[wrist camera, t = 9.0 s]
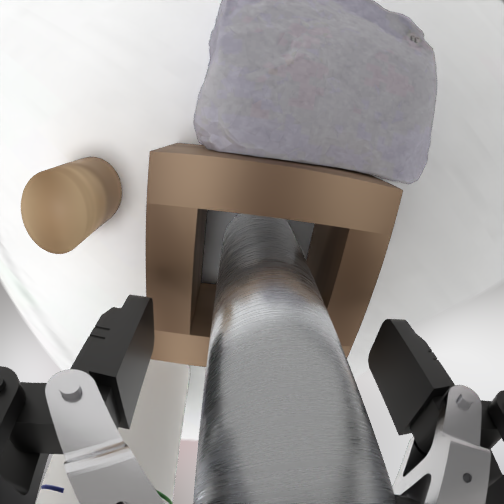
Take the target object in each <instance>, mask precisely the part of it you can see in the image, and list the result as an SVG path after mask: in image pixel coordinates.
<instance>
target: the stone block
mask: <svg viewBox="0 0 504 504" xmlns="http://www.w3.org/2000/svg"><path fill="white" fill-rule="evenodd" d="M209 46H210V49H209V52H210V62H209V65H208V66H209V67H208V70H207V74H206V76H205V81H204V83H203V85H202V87H201V90H200V92H199V95H198V100H197V105H196V111H195V114H194V127H195V131H196V135H197V139H198V141H199V143H201V144H202V145H204V146H205V147H206V149H208V150H214V151H217V152H228V153H236V154H242V155H250V156H257V157H264V158H272V159H279V160H286V161H293V162H301V163H308V164H316V165H323V166H331V167H337V168H342V169H347V170H352V171H357V172H361V173H366V174H371V175H375V176H378V177H382V178H385V179H388V180H392V181H398V182H401V183H406V184H410V183H413V182H415V181H417V180H418V179H419V177H420V175H421V173H422V171H423V169H424V167H425V165H426V163H427V159H428V150H429V146H430V136H431V129H432V123H433V116H434V108H435V102H436V95H437V74H436V62H435V55H434V51H433V48H432V47H431V46H430V45H429V44H428V43H427V42H426V41H425V40H424V33H423V32H422V30H420V29H419V28H418V27H417V26H416V25H415V23H414V22H413V21H412V20H411V19H410V18H409V17H407V16H405V15H403V14H400V13H395V12H390V11H388V10H386V9H384V8H383V7H381V6H380V5H379V4H378V3H376V2H375V1H373V0H222V2H221V4H220V7H219V11H218V15H217V18H216V24H215V27H214V29H213V30H212V32H211V37H210V41H209Z"/></svg>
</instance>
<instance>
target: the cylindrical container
mask: <svg viewBox="0 0 504 504" xmlns="http://www.w3.org/2000/svg"><path fill="white" fill-rule="evenodd" d="M189 379H190V367H189V365H186V364H179V363H172V362H165V361H159V360H153V359H150V362H149V365H148V368H147V372H146V375H145V378H144V381H143V385H142V388H141V391H140V394H139V398H138V401H137V405H136V408H135V412H134V415H133V419H132V422H131V426H130V430H129V429H125V428H120V427H119V428H118V432H119V434H120V436H121V437H122V439H123V441H124V443H125V444H127V445H128V446H129V448H130V449H131V451H132V453H133V454H134V456H135V458H136V459H137V461H138V463H139V464H140V466H141V468H142V469H143V471H144V473H145V474H146V476H147V477H148V479H149V481H150V482H151V484H152V485H153V487H154V488H155V490H156V491H157V493H158V494H159V495H160V497H161V498H162V500H163V501H164V503H165V504H173V496H174V487H175V486H174V485H175V478H176V469H177V462H178V454H179V447H180V439H181V432H182V425H183V418H184V411H185V405H186V398H187V391H188V385H189ZM64 462H66V460H65V457H64V454H53V456H52V459H51V461H50V464H49V466H48V469H47V472H46V475H45V477H44V480H43V483H42V486H41V487H42V489H41V490H40V492H39V495H38V498H37V501H36V504H80V503H79V501H78V499H77V497H76V495H75V492H74V490H73V488H72V486H71V483H70V481H69V478H68V476H67V473H66V470H65V467H64Z"/></svg>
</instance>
